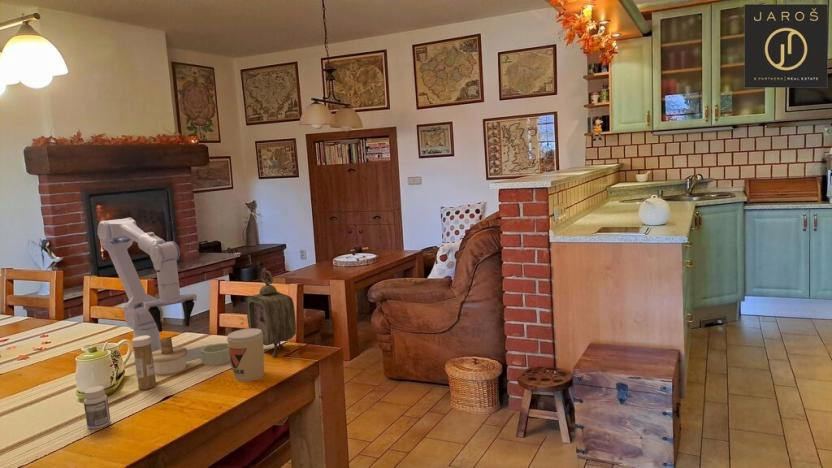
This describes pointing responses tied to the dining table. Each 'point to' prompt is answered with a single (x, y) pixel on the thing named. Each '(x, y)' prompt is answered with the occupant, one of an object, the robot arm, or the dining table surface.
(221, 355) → the sage bowl
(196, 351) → the slate mat
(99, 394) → the pill bottle
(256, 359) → the coffee cup
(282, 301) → the tabletop clock
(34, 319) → the dining table surface
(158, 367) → the cream bowl
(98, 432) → the dining table surface
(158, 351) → the lid
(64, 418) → the dining table surface
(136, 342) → the sprinkles bottle
